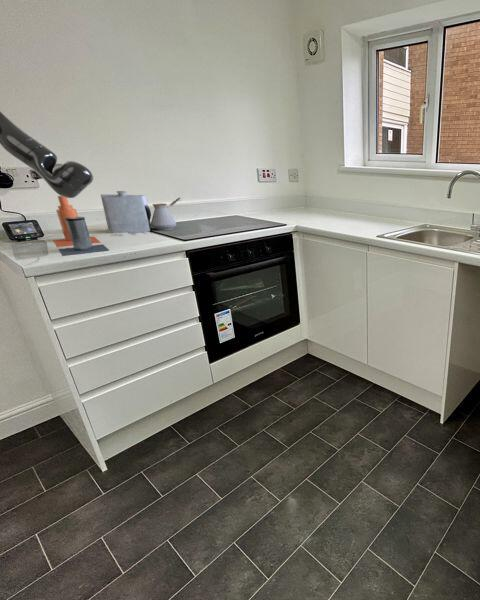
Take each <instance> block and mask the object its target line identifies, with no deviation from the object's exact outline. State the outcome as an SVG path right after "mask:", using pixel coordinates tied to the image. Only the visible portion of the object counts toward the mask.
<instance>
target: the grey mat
mask: <svg viewBox="0 0 480 600" xmlns="http://www.w3.org/2000/svg"><path fill="white" fill-rule="evenodd" d="M92 246H93V249H91V250H85V251H75V249H74V246H72V247H65V248H64V247H63V248H58V251H59V253H60V254H61V256H62V257H66V256H67V257H68V256H74V255H83V254H84V255H85V254H91V253H99V252H100V253H101V252H108V251H110V249H109V248H108V247H107V246H105V244H94V245H93V244H92Z"/></svg>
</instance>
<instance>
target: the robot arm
mask: <svg viewBox="0 0 480 600" xmlns="http://www.w3.org/2000/svg"><path fill="white" fill-rule="evenodd" d="M0 146H1V147H2V148H3V149H4V150H5V151H6V153H9V155H11V156H12V157H14V158H16V159H17V160H18V161H20V162H21V163H23V164H24V165H26V166H28V168H31V169H30V170H29V173H30V177H31V179H32V180H35V181H38V180H44V182H45V183H46V184H47V185H48V186H49V187H50V188H51V189H52V190H53V191H54V192H55V193H56V194H57V195H58V196H63V197H66V198H67V199H75V198H76V197H77V196H79V195H80V194H81V193H82V192H83V191H84V190H86V189H87V187H88V186H90V185H91V184H92V182H93V181H94V175H93V173H92V172H91V170H89V168H88V167H87V166H85V165H84V164H82V163H79V162H77V161H73V160H67V161H66V162H64V163H57V162H58V156H57V155H56V153H54V152H53V151H52V150H50V149H49V148H48V147H46V146H45V145H43V144H42V143H40V142H39V141H38V140H37V139H35V138H33V137H32V136H31V135H29V134H28V133H27V132H25V131H24V130H22V128H20V127H18V125H16V124H15V123H14V122H13V121H12V120H11V119H9V118H8V117H7V116H6V115H5V114H4V113H3V112H1V111H0Z"/></svg>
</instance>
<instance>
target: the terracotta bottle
mask: <svg viewBox="0 0 480 600" xmlns="http://www.w3.org/2000/svg"><path fill="white" fill-rule="evenodd" d="M57 199H58V203H59V205H57V208H58V209H57V208H56V209H55V212H56V215H57V217H58V220H59V225H60V227H61V230H62V233H63V236H64V239H65V240H66V241H72V240H71V237H70V233H69V230H68V227H67V224H66V221H65V219H64V218H67V217H79V214H78V211H77V209H76V208H74V207H73V205H72V204H70V203H69V200H68V198H66V197H63V196H61V195H57Z"/></svg>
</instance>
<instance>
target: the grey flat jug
mask: <svg viewBox="0 0 480 600" xmlns="http://www.w3.org/2000/svg"><path fill="white" fill-rule="evenodd" d="M113 195H118V193H117V194H115V193H114V194H113V193H101V194H100V198H101V197H102V196H113ZM126 196H143V201H144V205H145V210H146V214H147V218H148V223H149V227H150V230H151V229H152V226H151V219H152V212H151V208H150V207H149V205H148V202H147V196H146V195H145V194H126ZM101 203H102V207H103V213H104V218H105V221H106V224H107V225H106V226H107V229H108V230H110V227H109V224H108V220H107V216H106V212H105V209H104V205H103V201H102V198H101Z"/></svg>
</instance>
